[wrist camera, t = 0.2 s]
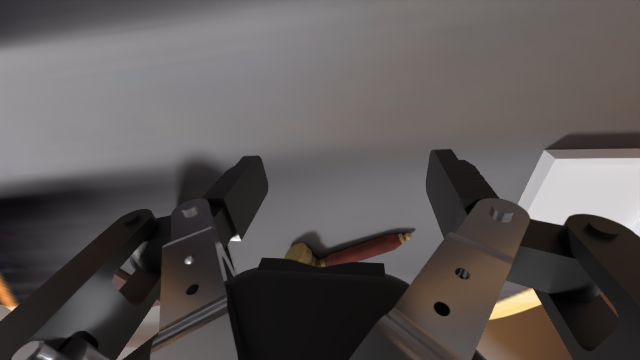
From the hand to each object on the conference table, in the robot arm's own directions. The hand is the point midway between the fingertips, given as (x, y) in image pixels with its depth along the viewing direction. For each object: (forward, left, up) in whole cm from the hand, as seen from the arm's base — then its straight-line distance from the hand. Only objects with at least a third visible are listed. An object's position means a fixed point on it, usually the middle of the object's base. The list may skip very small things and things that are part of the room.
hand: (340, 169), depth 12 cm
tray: (+18, +28, -17) cm, 38 cm away
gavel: (+28, -1, -18) cm, 33 cm away
